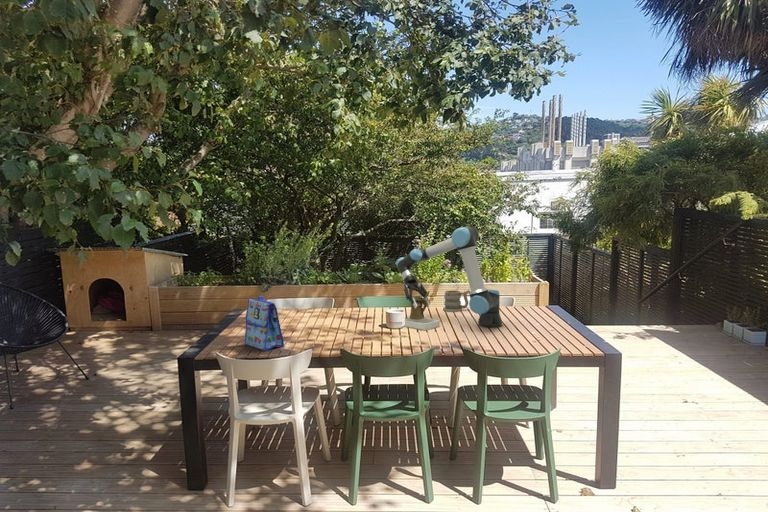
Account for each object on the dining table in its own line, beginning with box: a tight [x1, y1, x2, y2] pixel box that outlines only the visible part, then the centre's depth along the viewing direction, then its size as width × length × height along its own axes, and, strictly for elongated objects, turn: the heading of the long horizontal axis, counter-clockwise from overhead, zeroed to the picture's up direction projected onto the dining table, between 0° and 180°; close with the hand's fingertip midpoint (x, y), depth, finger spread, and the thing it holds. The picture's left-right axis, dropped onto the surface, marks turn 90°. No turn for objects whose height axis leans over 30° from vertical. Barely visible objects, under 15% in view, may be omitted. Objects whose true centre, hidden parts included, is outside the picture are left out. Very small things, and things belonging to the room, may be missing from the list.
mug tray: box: [403, 317, 441, 332], centre depth 344 cm, size 20×15×4 cm
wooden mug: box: [409, 290, 430, 320], centre depth 343 cm, size 9×14×18 cm, turn 68°
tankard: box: [443, 289, 471, 313], centre depth 390 cm, size 20×13×15 cm, turn 73°
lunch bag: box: [244, 295, 285, 352], centre depth 305 cm, size 22×14×29 cm, turn 45°
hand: (422, 306), depth 341 cm, fingers closed on wooden mug, 8 cm apart
